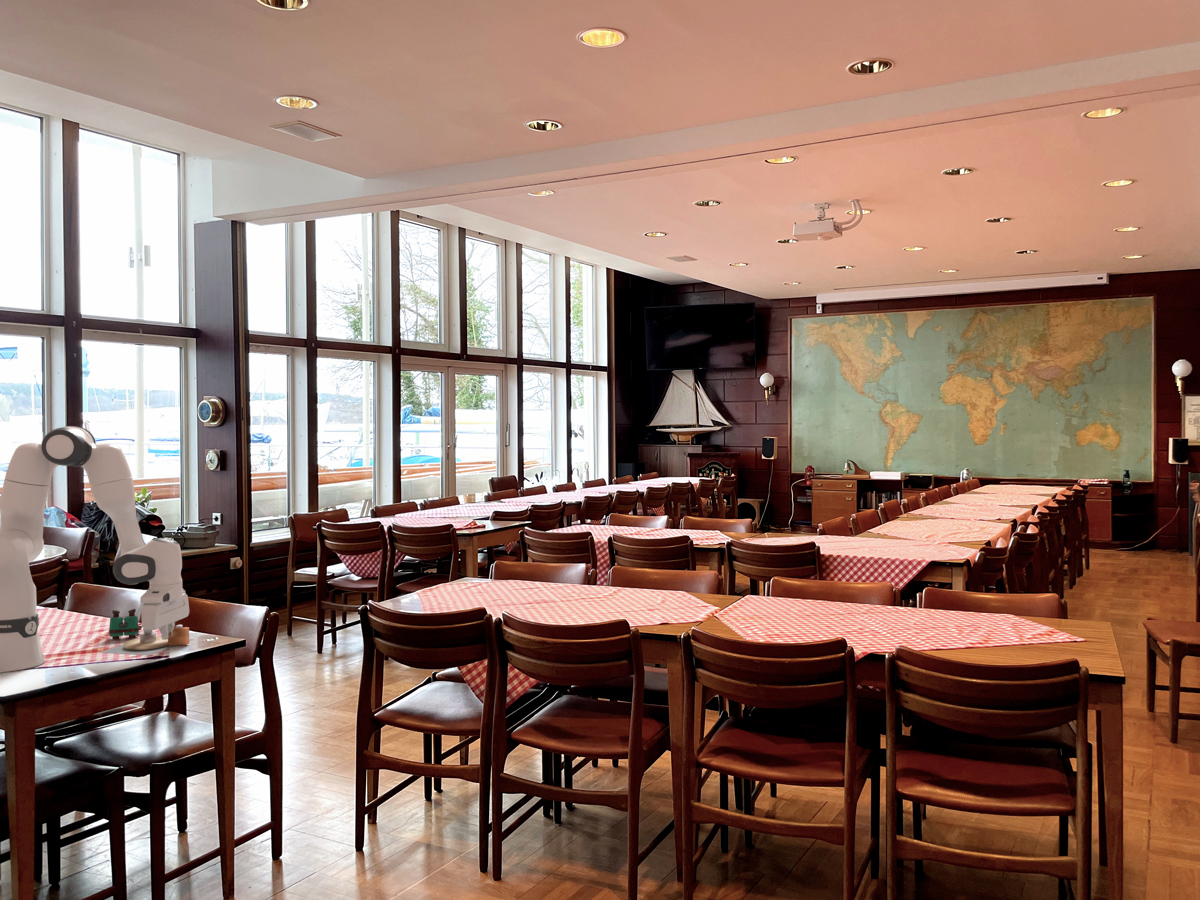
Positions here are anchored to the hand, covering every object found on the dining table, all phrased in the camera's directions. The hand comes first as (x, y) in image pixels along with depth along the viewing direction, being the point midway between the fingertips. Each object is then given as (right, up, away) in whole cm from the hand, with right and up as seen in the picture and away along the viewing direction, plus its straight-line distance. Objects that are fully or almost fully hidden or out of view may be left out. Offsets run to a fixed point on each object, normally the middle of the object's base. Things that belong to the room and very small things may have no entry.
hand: (167, 638), depth 266 cm
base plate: (-8, -5, +4) cm, 10 cm away
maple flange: (-5, -3, +4) cm, 7 cm away
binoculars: (-22, -5, +17) cm, 28 cm away
